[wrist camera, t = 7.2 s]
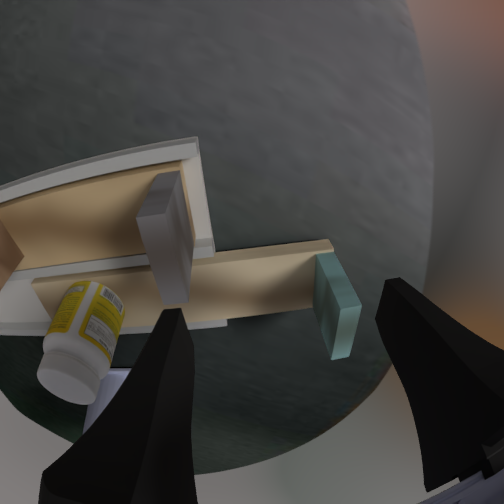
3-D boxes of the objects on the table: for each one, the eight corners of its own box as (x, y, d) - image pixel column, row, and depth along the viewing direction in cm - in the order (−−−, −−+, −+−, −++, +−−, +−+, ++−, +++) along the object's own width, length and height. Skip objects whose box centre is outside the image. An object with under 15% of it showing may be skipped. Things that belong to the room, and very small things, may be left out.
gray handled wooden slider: (195, 235, 19) (189, 305, 14) (-30, 269, 18) (-62, 316, 13) (181, 159, 16) (163, 208, 11) (-52, 222, 15) (-92, 265, 10)
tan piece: (323, 294, 23) (348, 358, 18) (62, 319, 22) (40, 377, 17) (328, 239, 20) (362, 302, 15) (36, 274, 19) (3, 332, 14)
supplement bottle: (72, 306, 21) (37, 392, 14) (72, 262, 19) (23, 354, 12) (125, 323, 23) (102, 415, 16) (132, 281, 20) (100, 383, 13)
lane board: (226, 311, 24) (227, 325, 22) (3, 324, 23) (-2, 334, 22) (197, 136, 16) (195, 142, 15) (-57, 210, 15) (-67, 219, 14)
